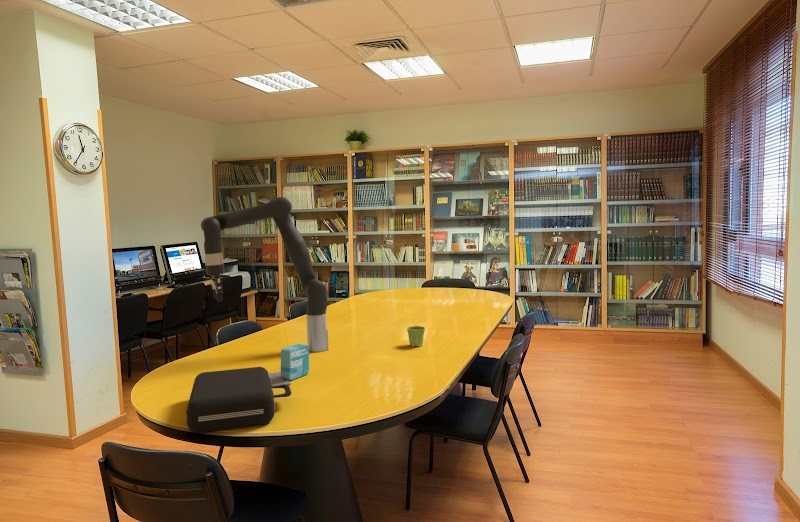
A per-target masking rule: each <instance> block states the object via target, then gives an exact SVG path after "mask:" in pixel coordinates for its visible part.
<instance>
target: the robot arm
mask: <svg viewBox="0 0 800 522" xmlns="http://www.w3.org/2000/svg"><path fill="white" fill-rule="evenodd" d="M292 209H293V206H292V203H291V201H290V200H289V199H288V198H286V197H284V196H278V197H273V198H272V199H270V201H269V202H267V203H264V204H263V203H262V204H260V205H255V206H252V207H245V208H241V209H237V210H233V211H229V212H227V213H223V214H217V215H213V216H208V217H205V218H203V219H202V221H201V222H200V228H201V230H202V231H203V237H204V242H203V248H204V264H205V265H204V266H205V273H206V275H207V276H210V282H211V289H212V292H213V299H215V300H216V301H217V302H219V303H220V302H223V301H224V298H223V296H224V295H223V292H224V287H223V278H222V277H221V276H220V275H224V274H225V263H224V255H223V250H222V242H221V231H224V230H226V229H227V230H229V229H235V228H238V227H241V226H245V225H249V224H251V223H255V222H257V221H261V220H262V221H263V220H266V219H270V218H272V219H273V221H274V223H275V224H276V227H277V229H278V231H279V234H280V236H281V239H282V242H283V245H284V247H285V249H286V252H287V255H288V256H289V259H290V261H291V262H292V265H293V266H294V269H295V270H296V273H297V274H298V277H299V280H300V284H301V287H302V291H303V293H304V295H305V296H306V297H307V307H306V310H305V311H306V312H305V313H306V334H307V335H306V336H307V345H308V346H309V352H313V353H317V352H319V353H320V352H325V351H328V350H329V330H328V329H327V308H328V291H327V286H326V285H325V283H324V282H322V281H320V280H319V279H318V277H317V276H316V274H315V271H314V270H313V266H312V261H311V259H312V258H311V254H310V251H309V247H308V246H307V243H306V241H305V239H304V237H303V236H302V234H301V233H300V232H299V230H298V229H297V227H296V225H295V224H294V223H293V221H292V217H291V214H290V213H291V212H292Z"/></svg>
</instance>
